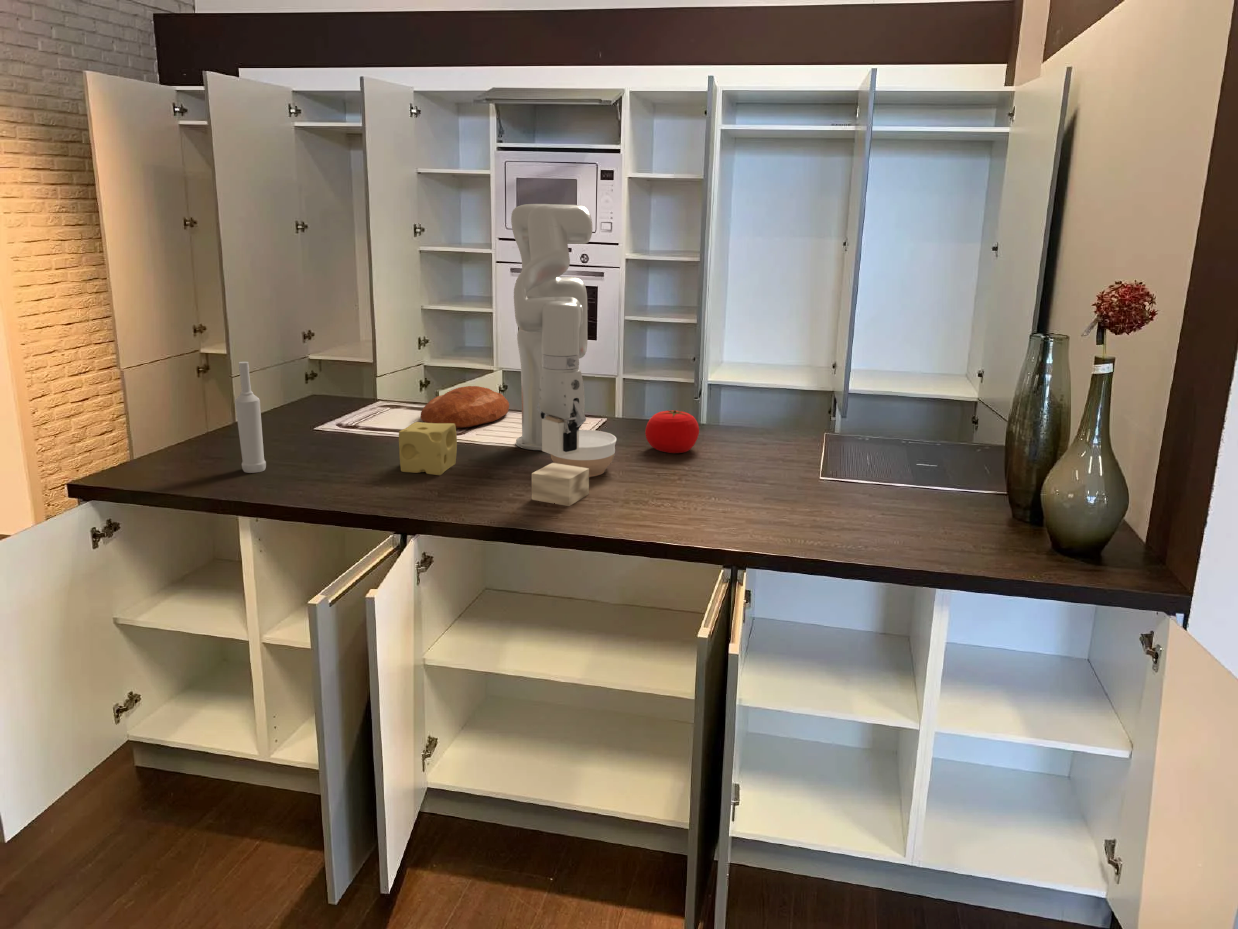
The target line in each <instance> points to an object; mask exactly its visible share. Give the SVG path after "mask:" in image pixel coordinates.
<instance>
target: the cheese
mask: <svg viewBox="0 0 1238 929" xmlns="http://www.w3.org/2000/svg"><path fill="white" fill-rule="evenodd" d="M457 435H458V434H457V428H456V427H455V424H454V423H426V422H424V421H422V422H420V421H416V422H413V423H411V424H410V425H408V426H407V427H405V428H403V429H401V430H399V431H398V454H399V466H400V471H401V472H402V473H414V474H415V473H417V474H418V473H425V474H427V475H435V476H441V475H443V474H444V473H445V472H446V471H447V470H449V469H450V468H452V467H453V466H455V465H456V461H457V460H456V459H457V451H458V450H457V449H458V448H457V447H458V439H457Z"/></svg>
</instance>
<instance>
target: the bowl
mask: <svg viewBox="0 0 1238 929" xmlns="http://www.w3.org/2000/svg"><path fill="white" fill-rule="evenodd" d="M616 442H617V437H616V436H615V435H614V434H612V433H610V432H606V431H601V430H595V429H579V452H577V453H573V454H568V455H564V456H559V457H558V456H555V455H552V454H550V459H551V460H552V463H557V464H564V465H570V466H577V467H583V468H589V478H592V477H597V476H600V475H602V474H604V473H605V471H606V470H607V468H608V467H609V466H610V465H611V464H612V462H613V461H614V458H615V452H616V449H615V448H616V447H615V445H616Z"/></svg>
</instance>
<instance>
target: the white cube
mask: <svg viewBox="0 0 1238 929" xmlns="http://www.w3.org/2000/svg"><path fill="white" fill-rule="evenodd" d="M570 417H571V415H570ZM569 424H570V425H571V424H572V420H570V421H569ZM563 433H566V432H565V427H564V422H563V419H561V418H558V417H554V416H551V415H549V416H546V418H544V419H542V450H541V451H542V452H544V453H547V454H552V455H555V456H558V457H559V456H564V455H568V454H573V453H577V452H579V431H578V432H577V449H576V450H573V451H568V452H565V451H563Z"/></svg>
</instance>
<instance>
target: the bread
mask: <svg viewBox="0 0 1238 929" xmlns="http://www.w3.org/2000/svg"><path fill="white" fill-rule="evenodd" d="M509 408H510V402H509V400H508V399H506V397H505V396H504V395H503V394H502V393H499V392H497V391H494V390H492V389H490V388H488V387H483V386H479V385H473V386H472V385H469V386H468V385H467V386H460V387H457V388H454V389H451V390H449V391H447V392H445V393H444V394H441V395H438V396H435V397H434V398H432V399H430V400H429V401H428V402H427V403H426V404H425V405H424V406H423V408H422V409H421V411H420V420H421V421H422V422H423V423H454V424H455V427H456V429H464V428H470V427H472V428H473V427H475V426H481V425H485V424H488V423H492V422H493V423H494V422H495V421H498V420H499V419H501V418H503V417H504V416H505V415H507V414H508V412H509Z"/></svg>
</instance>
